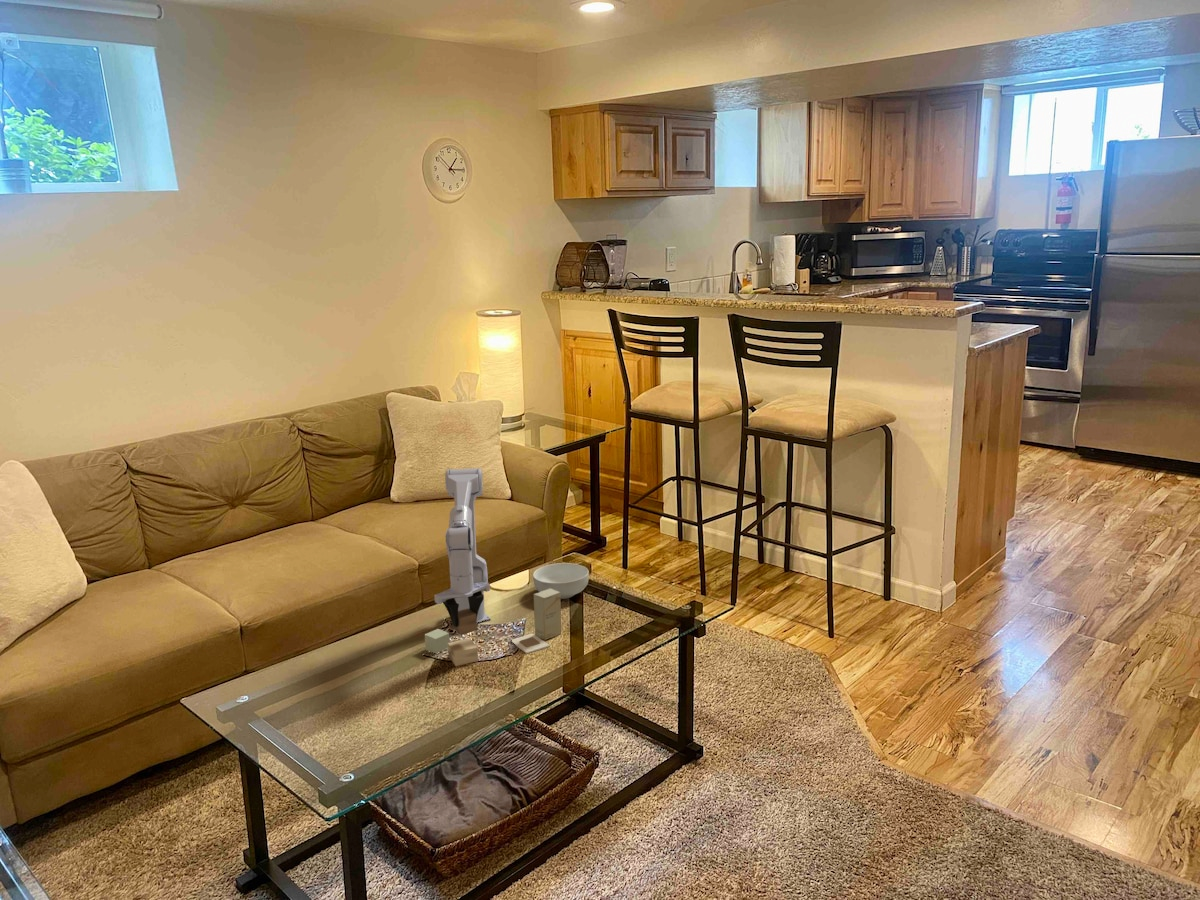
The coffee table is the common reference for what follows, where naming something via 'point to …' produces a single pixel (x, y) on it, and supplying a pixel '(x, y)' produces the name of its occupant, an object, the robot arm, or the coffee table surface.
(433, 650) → the sage cube
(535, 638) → the card
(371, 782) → the coffee table surface
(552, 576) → the cereal bowl
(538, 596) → the skincare box
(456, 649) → the maple base
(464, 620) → the walnut cube
